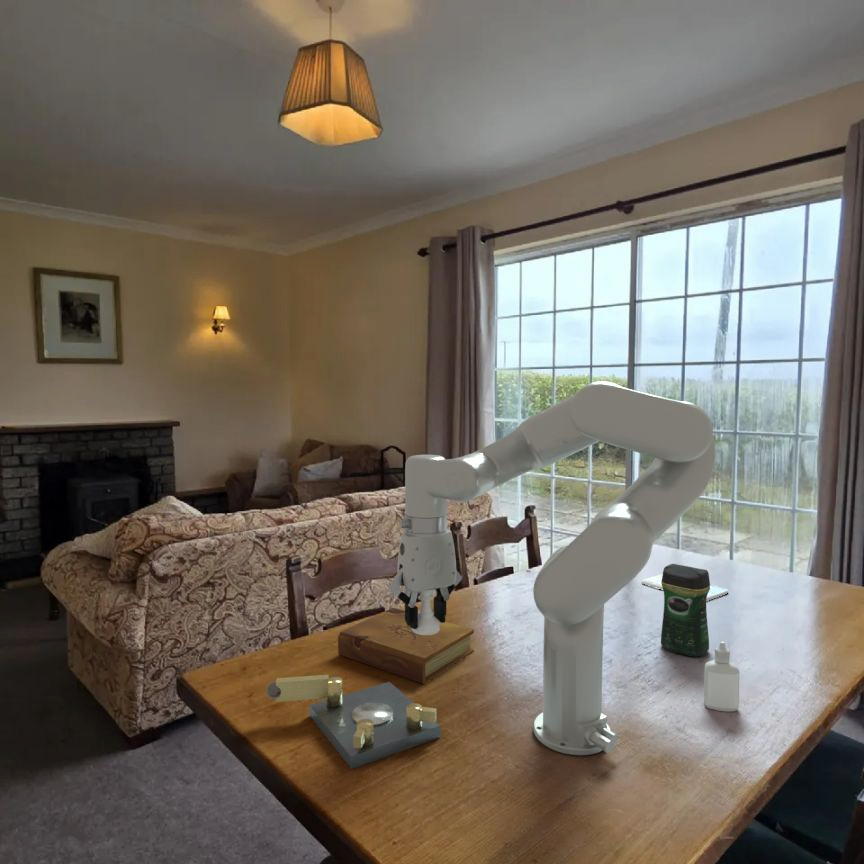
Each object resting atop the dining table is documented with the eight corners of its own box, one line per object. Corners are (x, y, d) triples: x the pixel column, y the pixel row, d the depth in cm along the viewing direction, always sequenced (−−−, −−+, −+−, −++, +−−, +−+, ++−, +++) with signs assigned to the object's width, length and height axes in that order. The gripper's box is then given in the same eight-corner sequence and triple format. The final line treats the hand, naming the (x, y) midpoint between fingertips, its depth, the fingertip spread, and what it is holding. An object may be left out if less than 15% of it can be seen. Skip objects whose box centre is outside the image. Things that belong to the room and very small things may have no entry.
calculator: (667, 577, 188) (667, 571, 187) (730, 595, 171) (730, 588, 171) (639, 585, 180) (640, 579, 180) (703, 604, 164) (703, 598, 163)
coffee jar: (713, 650, 134) (715, 567, 133) (699, 661, 128) (702, 575, 127) (670, 637, 141) (671, 558, 139) (655, 648, 135) (656, 566, 134)
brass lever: (342, 698, 110) (342, 672, 109) (342, 705, 107) (342, 679, 106) (267, 703, 108) (267, 677, 107) (265, 711, 105) (265, 684, 105)
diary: (338, 658, 132) (337, 632, 132) (393, 631, 147) (392, 607, 147) (423, 687, 119) (422, 658, 118) (474, 653, 134) (473, 628, 133)
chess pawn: (407, 633, 109) (407, 583, 108) (418, 623, 114) (418, 575, 113) (433, 637, 107) (433, 587, 106) (443, 627, 112) (444, 579, 111)
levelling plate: (441, 738, 100) (441, 709, 100) (352, 771, 92) (352, 739, 92) (389, 691, 116) (389, 666, 116) (309, 715, 108) (308, 688, 107)
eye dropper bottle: (733, 717, 107) (735, 650, 106) (700, 706, 110) (702, 641, 109) (741, 707, 110) (743, 642, 109) (708, 697, 114) (710, 634, 113)
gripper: (392, 534, 101) (392, 640, 103) (477, 523, 110) (476, 621, 111) (373, 525, 108) (374, 625, 109) (455, 515, 116) (454, 608, 118)
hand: (425, 622), depth 110 cm, fingers closed on chess pawn, 5 cm apart
